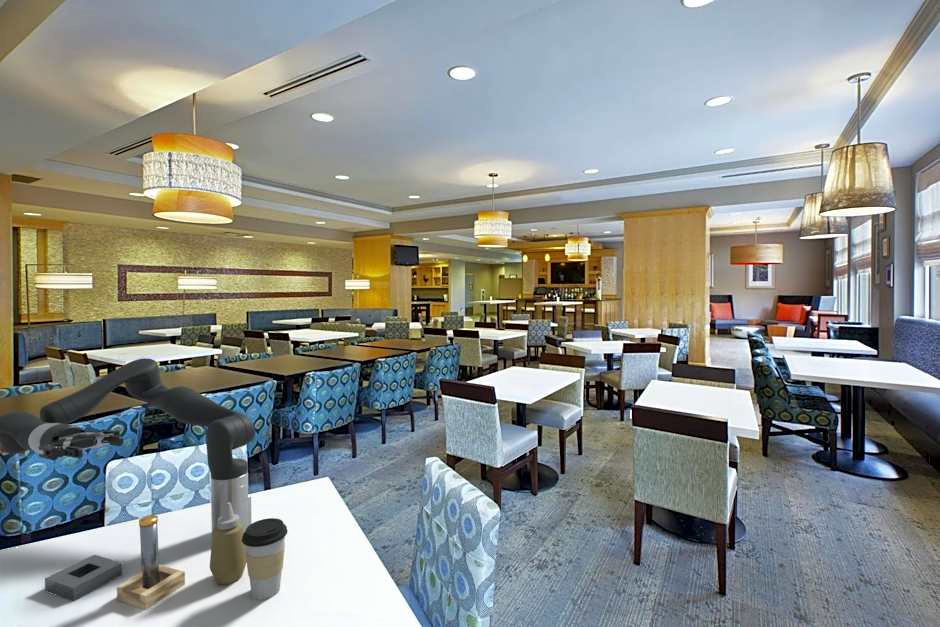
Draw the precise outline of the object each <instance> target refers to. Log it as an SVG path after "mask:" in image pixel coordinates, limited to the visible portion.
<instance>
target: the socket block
mask: <svg viewBox="0 0 940 627" xmlns="http://www.w3.org/2000/svg"><path fill="white" fill-rule="evenodd" d="M121 576H123V562H122V561H121V562H120V561H118V560H114V559H110V558H107V557H104V556H100V555H97V554H93V555H90V556H88V557H87V558H84V559H82V560H80V561H78V562H76V563H74V564H71V565H70V566H67V567H66V568H63V569H61V570H59V571H57V572H55V573H54V574H51V575H49V576H46V577H45V578H44V586H45V587H44V591H45V592H46V591H48V592H47V593H49V592H50V593H49V594H51V593H53V594H52V595H54V594H56V595H55V596H57V595H58V597H60V598H63V599H65V600H69V601H71V602H75V601H77V600H79V599H81V598H83V597H84V596H86V595H89V594H90V593H92V592H93V591H96V590H98V589H99V588H101V587H102V586H105V585H107V584H108V583H110V582H112V581H114V580H115V579H118V578H119V577H121Z"/></svg>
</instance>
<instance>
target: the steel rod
mask: <svg viewBox="0 0 940 627" xmlns="http://www.w3.org/2000/svg"><path fill="white" fill-rule="evenodd" d="M158 522H159V518H158V515H157V514H149V515H146V516H143V517H142V518H140V519H139V520H138V525H139V537H140V538H139V539H140V560H141V561H140V563H141V564H140V565H141V573H142V585H143V588H145V589H150V588H151V587H153V586H155V585H156V584H158V583H159V582H160V573H159V565H160V558H159V556H160V555H159V554H160V552H159V534H158V533H159V532H158V531H159V530H158Z"/></svg>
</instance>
